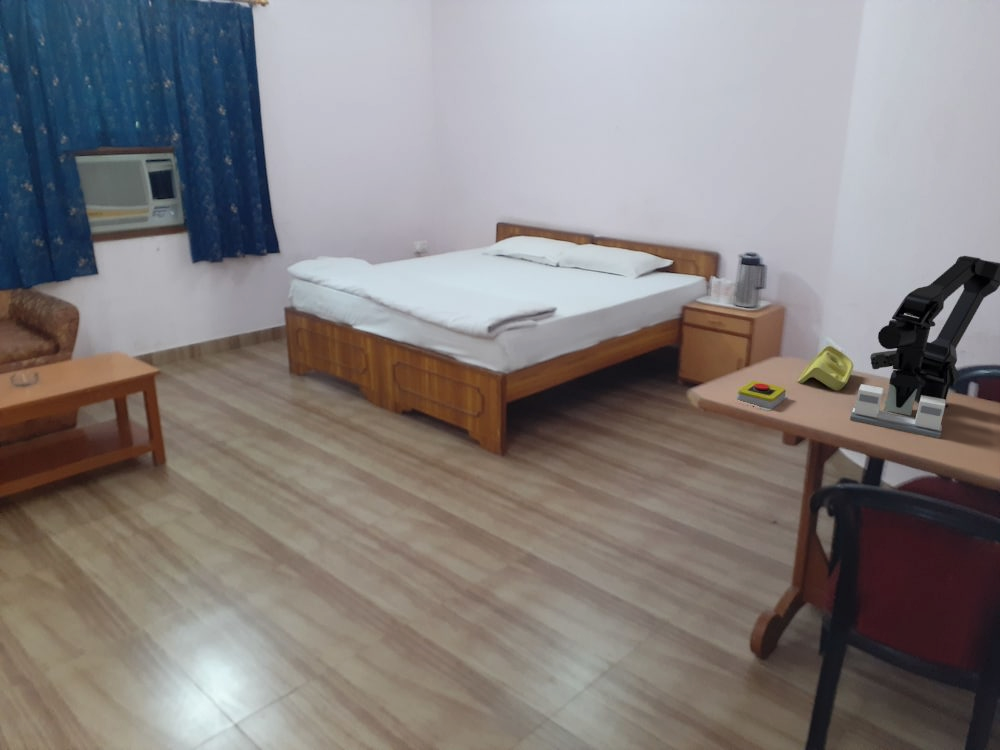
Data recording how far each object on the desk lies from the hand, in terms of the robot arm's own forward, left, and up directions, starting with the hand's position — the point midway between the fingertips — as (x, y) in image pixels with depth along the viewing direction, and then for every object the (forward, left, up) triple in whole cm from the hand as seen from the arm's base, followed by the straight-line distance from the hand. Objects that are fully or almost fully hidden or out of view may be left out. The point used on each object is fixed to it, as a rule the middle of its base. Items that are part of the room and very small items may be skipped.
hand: (899, 404), depth 185 cm
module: (0, 0, -2) cm, 2 cm away
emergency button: (+33, -4, -2) cm, 33 cm away
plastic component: (+9, -22, -2) cm, 24 cm away
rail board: (+6, +10, -2) cm, 11 cm away
